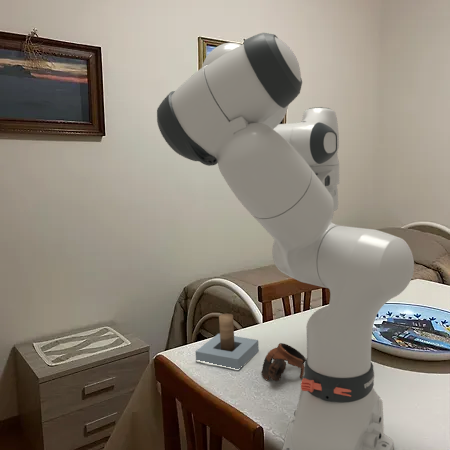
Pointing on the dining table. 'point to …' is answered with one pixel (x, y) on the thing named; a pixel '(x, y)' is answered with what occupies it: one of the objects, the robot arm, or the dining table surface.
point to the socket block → (228, 352)
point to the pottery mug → (281, 361)
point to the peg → (226, 332)
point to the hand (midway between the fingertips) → (321, 233)
